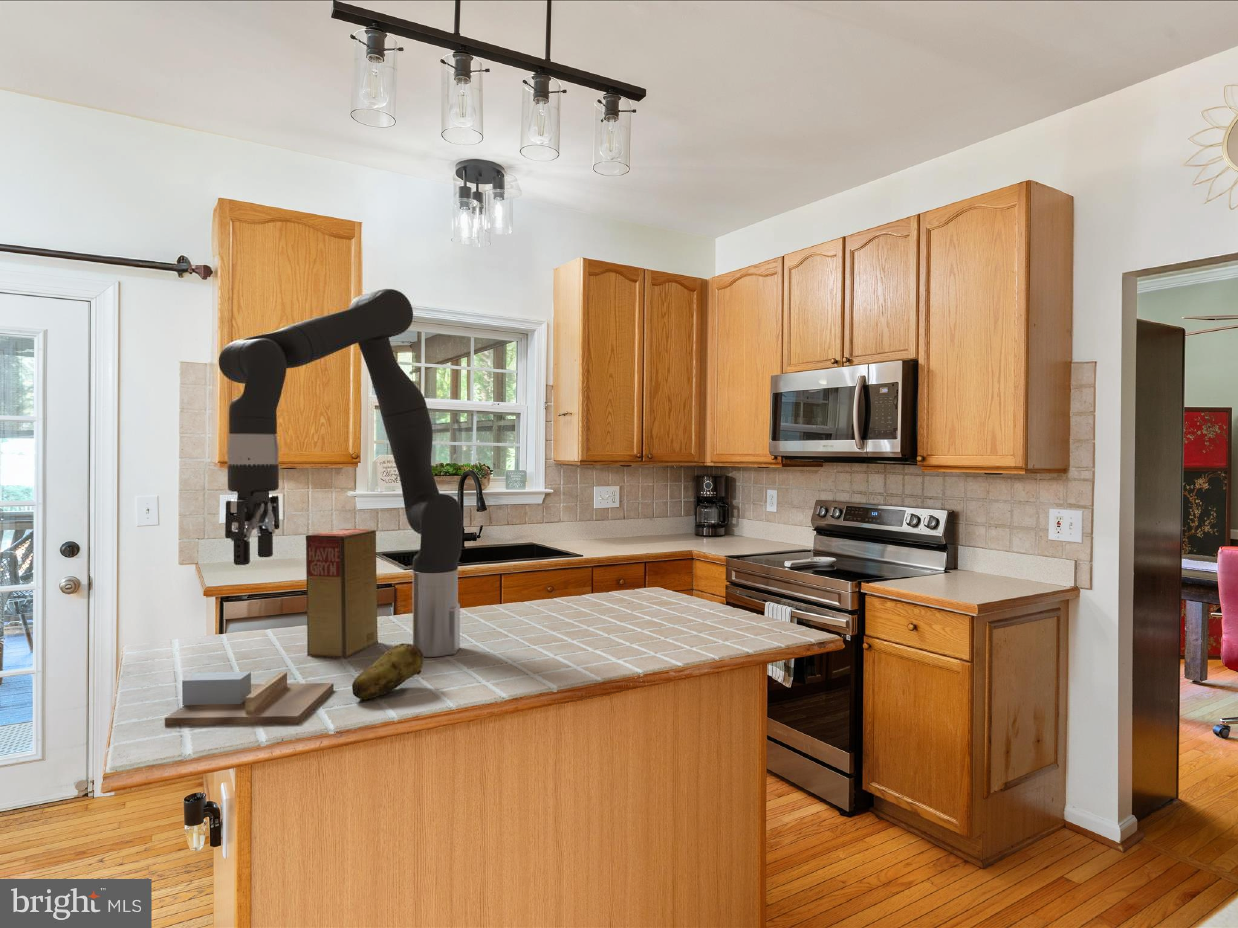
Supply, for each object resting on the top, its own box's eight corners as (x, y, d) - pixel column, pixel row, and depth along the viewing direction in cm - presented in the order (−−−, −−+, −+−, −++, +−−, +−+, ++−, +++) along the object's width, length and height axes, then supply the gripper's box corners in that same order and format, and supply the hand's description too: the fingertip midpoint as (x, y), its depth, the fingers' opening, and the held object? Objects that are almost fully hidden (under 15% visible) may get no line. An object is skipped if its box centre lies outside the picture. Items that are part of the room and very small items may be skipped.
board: (333, 689, 128) (333, 668, 128) (297, 723, 112) (297, 699, 112) (217, 691, 128) (217, 670, 127) (164, 725, 112) (164, 701, 111)
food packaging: (341, 639, 163) (341, 527, 162) (380, 641, 161) (379, 528, 160) (304, 655, 150) (303, 534, 149) (345, 658, 148) (345, 535, 147)
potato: (343, 693, 127) (343, 647, 127) (416, 680, 134) (416, 637, 134) (356, 707, 120) (355, 658, 120) (431, 692, 127) (431, 647, 127)
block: (250, 671, 122) (193, 672, 121) (240, 679, 118) (181, 680, 117) (251, 695, 122) (193, 696, 121) (240, 703, 118) (181, 705, 117)
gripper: (257, 462, 112) (258, 567, 113) (294, 461, 127) (294, 554, 127) (207, 462, 112) (208, 567, 112) (249, 461, 126) (250, 554, 126)
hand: (254, 560), depth 120 cm, fingers open, 8 cm apart
